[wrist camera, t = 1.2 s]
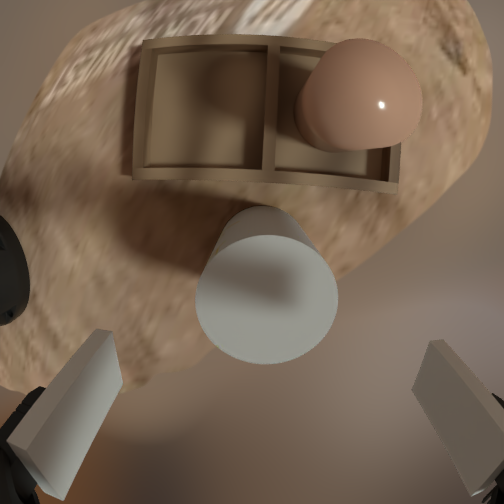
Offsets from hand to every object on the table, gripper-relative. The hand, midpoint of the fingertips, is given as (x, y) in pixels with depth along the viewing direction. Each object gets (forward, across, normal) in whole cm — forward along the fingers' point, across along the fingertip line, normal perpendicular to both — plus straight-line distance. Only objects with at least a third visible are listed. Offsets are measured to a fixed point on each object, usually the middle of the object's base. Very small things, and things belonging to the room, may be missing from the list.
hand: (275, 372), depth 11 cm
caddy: (+18, 0, +13) cm, 22 cm away
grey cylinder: (+18, 0, 0) cm, 18 cm away
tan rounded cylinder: (+18, +5, +13) cm, 22 cm away
